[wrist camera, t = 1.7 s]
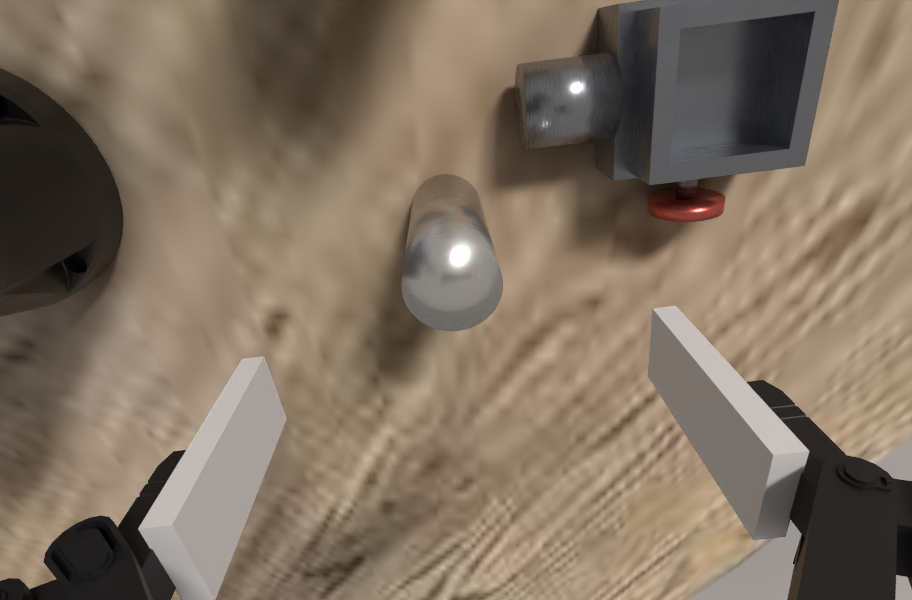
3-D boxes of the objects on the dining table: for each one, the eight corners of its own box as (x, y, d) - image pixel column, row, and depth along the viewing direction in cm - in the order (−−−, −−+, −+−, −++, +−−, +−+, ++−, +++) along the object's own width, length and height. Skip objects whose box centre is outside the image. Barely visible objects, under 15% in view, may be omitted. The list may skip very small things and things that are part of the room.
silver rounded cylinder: (417, 245, 34) (409, 336, 24) (406, 179, 32) (393, 246, 22) (483, 237, 34) (506, 324, 24) (477, 170, 32) (498, 233, 21)
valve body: (522, 218, 34) (540, 254, 28) (510, 19, 28) (530, 13, 22) (744, 190, 33) (809, 221, 28) (776, -16, 28) (865, -31, 22)
